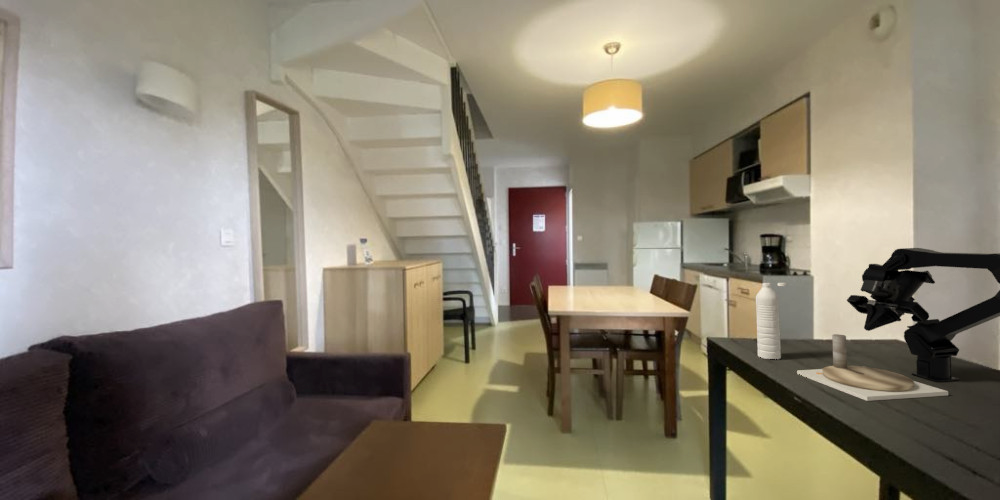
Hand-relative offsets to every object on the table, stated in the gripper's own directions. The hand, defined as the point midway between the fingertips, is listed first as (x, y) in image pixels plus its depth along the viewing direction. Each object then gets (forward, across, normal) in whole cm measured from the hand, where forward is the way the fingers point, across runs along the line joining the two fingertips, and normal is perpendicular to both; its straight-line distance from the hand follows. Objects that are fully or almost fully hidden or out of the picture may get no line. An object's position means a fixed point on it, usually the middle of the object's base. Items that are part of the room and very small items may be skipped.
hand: (866, 329), depth 115 cm
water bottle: (+18, -20, 0) cm, 27 cm away
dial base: (+14, +6, +4) cm, 16 cm away
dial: (+13, +7, +3) cm, 15 cm away
